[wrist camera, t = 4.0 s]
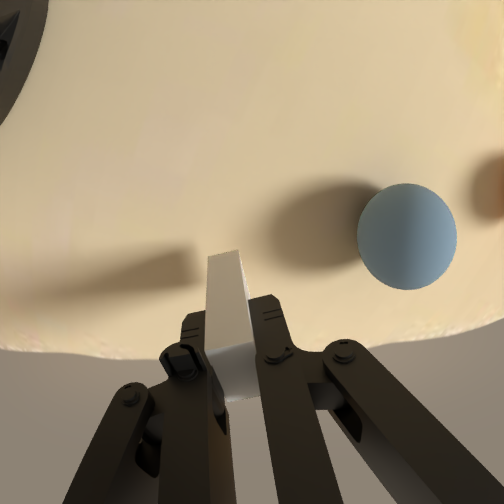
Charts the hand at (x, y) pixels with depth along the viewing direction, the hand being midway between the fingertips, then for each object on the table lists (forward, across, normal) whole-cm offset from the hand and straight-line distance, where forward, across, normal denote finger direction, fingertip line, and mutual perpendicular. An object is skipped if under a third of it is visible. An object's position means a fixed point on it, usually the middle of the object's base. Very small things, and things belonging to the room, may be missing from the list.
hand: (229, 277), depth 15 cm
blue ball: (-1, +9, 0) cm, 9 cm away
